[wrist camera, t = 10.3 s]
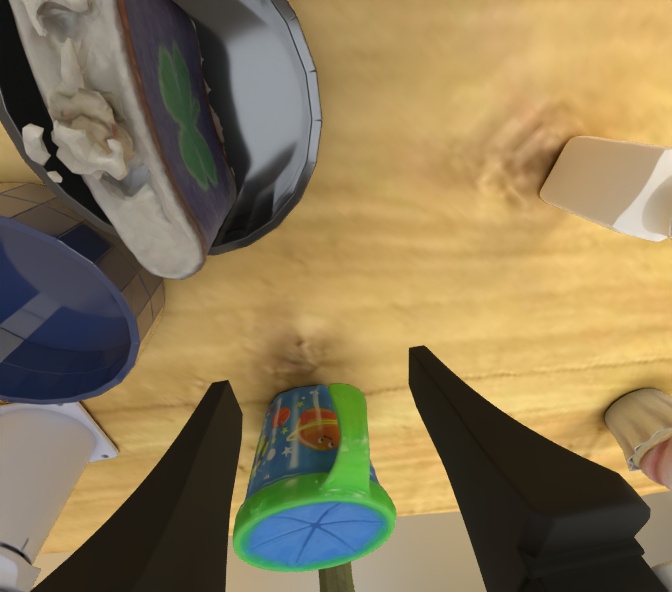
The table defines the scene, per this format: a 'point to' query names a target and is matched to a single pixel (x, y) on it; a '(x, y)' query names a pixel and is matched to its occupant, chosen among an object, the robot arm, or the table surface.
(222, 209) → the flask
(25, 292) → the indigo bowl
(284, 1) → the charcoal bowl
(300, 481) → the snack cup
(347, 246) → the table surface
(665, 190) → the pepper shaker
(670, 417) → the cupcake
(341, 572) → the vegetable
